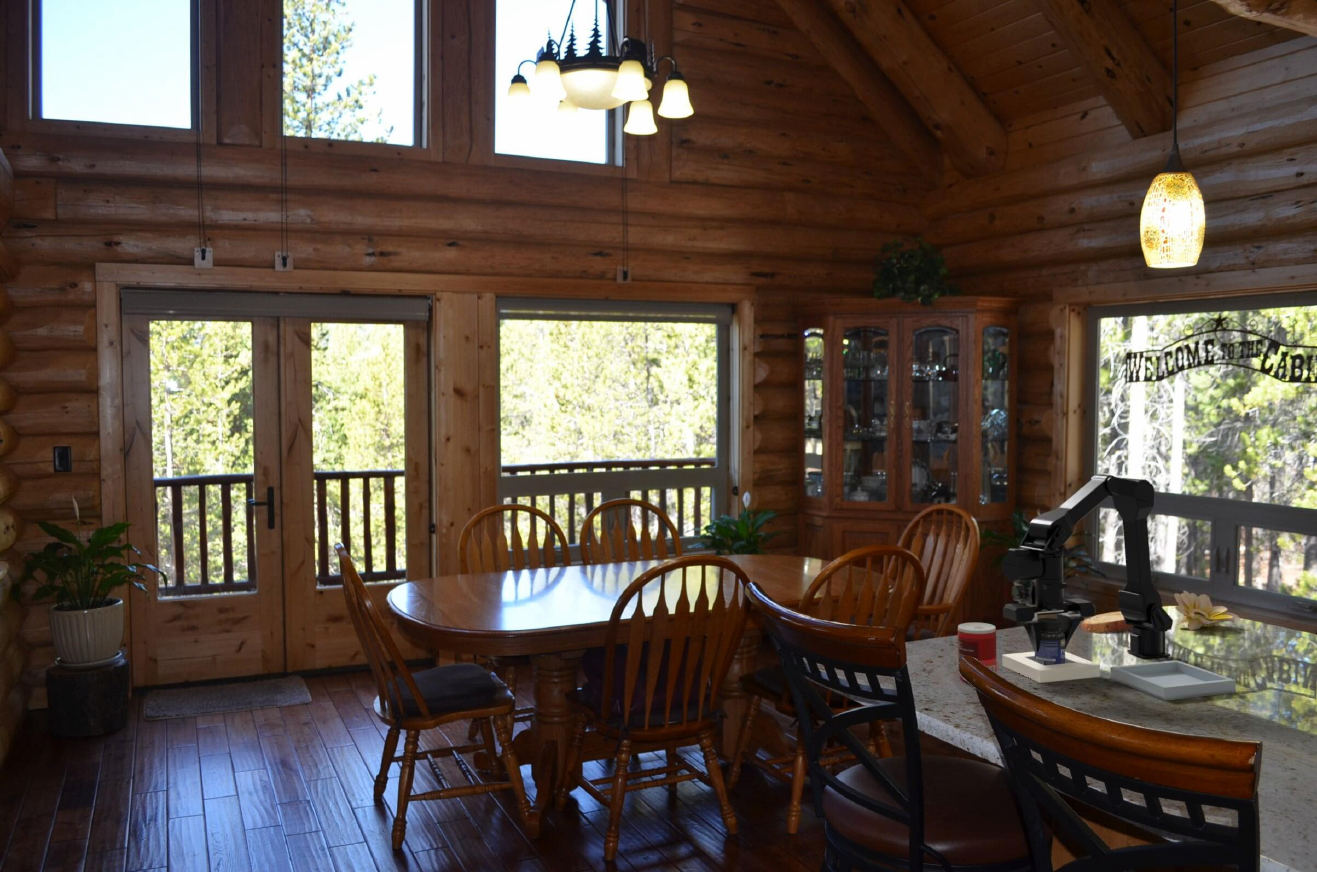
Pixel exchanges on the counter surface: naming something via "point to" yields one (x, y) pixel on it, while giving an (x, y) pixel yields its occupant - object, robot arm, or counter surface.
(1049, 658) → the pill bottle
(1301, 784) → the counter surface
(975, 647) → the canned food
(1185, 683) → the tray
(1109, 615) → the slice of bread
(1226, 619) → the decorative flower
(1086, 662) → the white square frame
